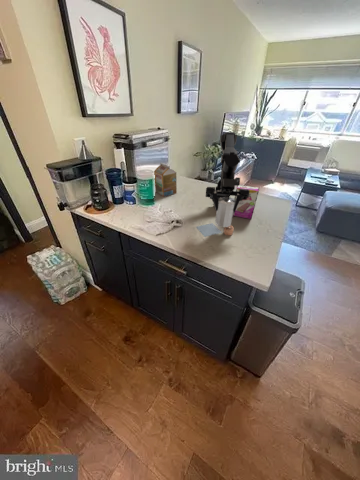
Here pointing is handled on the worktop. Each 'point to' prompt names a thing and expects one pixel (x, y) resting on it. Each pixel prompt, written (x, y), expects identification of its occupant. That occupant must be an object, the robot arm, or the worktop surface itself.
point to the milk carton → (165, 180)
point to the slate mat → (208, 229)
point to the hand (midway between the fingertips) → (225, 211)
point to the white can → (224, 211)
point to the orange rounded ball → (228, 230)
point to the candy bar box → (246, 203)
